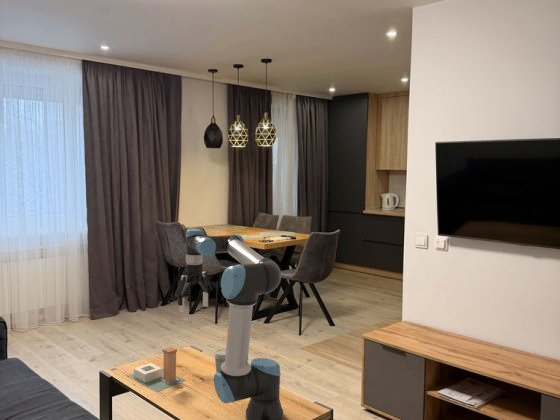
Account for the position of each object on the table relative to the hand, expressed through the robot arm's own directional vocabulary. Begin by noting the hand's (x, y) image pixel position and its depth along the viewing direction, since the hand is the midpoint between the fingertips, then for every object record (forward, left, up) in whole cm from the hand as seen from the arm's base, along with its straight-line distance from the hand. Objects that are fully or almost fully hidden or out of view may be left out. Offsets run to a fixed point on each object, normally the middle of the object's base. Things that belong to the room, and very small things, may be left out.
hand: (193, 309), depth 223 cm
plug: (+7, +8, -33) cm, 35 cm away
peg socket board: (+13, +11, -35) cm, 39 cm away
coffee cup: (-5, -14, -35) cm, 38 cm away
